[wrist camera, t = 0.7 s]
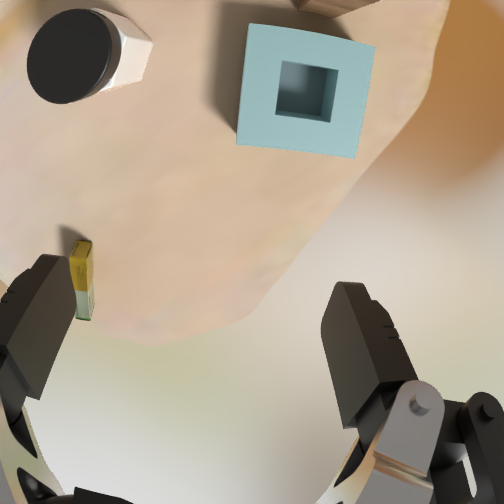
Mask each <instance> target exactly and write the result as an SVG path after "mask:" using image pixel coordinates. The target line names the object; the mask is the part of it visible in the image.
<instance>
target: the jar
mask: <svg viewBox="0 0 504 504" xmlns="http://www.w3.org/2000/svg"><path fill="white" fill-rule="evenodd" d="M152 46H153V41H152V40H151V39H150V38H149V37H148V36H147V35H145V34H144V33H143V32H142V31H141V30H140V29H139V28H138V27H137V26H136V25H135V24H134V23H133V22H132V21H131V20H129V19H128V18H125V17H122V16H120V15H117V14H114V13H111V12H108V11H105V10H101V9H98V8H92V9H90V10H89V9H88V10H87V9H71V10H66V11H64V12H61V13H59V14H57V15H55V16H54V17H52V18H51V19H49V20H48V21H47V22H46V23H45V24H44V25H43V26H42V27H41V28H40V29H39V31H38V32H37V34H36V35H35V37H34V39H33V41H32V43H31V45H30V48H29V52H28V57H27V73H28V78H29V81H30V83H31V85H32V87H33V89H34V90H35V92H36V93H37V94H38V95H39V96H40V97H41V98H43V99H44V100H46V101H48V102H51V103H55V104H70V103H73V102H76V101H79V100H82V99H85V98H89V97H92V96H95V95H98V94H102V93H105V92H108V91H111V90H114V89H117V88H120V87H123V86H126V85H129V84H132V83H135V82H138V81H141V80H142V77H143V74H144V70H145V67H146V64H147V61H148V58H149V55H150V52H151V49H152Z"/></svg>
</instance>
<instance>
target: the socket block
mask: <svg viewBox="0 0 504 504" xmlns="http://www.w3.org/2000/svg"><path fill="white" fill-rule="evenodd" d="M374 52H375V47H374V46H370V45H367V44H363V43H359V42H355V41H351V40H347V39H343V38H339V37H335V36H330V35H325V34H320V33H315V32H310V31H304V30H299V29H292V28H286V27H279V26H271V25H263V24H253V23H249V26H248V29H247V38H246V46H245V55H244V64H243V73H242V83H241V92H240V102H239V112H238V122H237V132H236V145H245V146H257V147H267V148H277V149H286V150H295V151H303V152H311V153H318V154H325V155H332V156H339V157H345V158H351V159H355V157H356V152H357V147H358V143H359V138H360V133H361V128H362V123H363V117H364V112H365V107H366V101H367V96H368V90H369V84H370V78H371V72H372V65H373V59H374Z"/></svg>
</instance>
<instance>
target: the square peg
mask: <svg viewBox="0 0 504 504" xmlns="http://www.w3.org/2000/svg"><path fill="white" fill-rule="evenodd" d="M378 1H380V0H299V9H298V11H304V12H309V13H314V14H319V15H324V16H329V17H333V18H336V17H338V16H340V15H343V14H345V13H348V12H350V11H353V10H356V9H358V8H361V7H364V6H366V5H369V4H372V3H375V2H378Z"/></svg>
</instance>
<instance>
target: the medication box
mask: <svg viewBox="0 0 504 504" xmlns="http://www.w3.org/2000/svg"><path fill="white" fill-rule="evenodd" d="M69 262H70V273H71V277H72V281H73V285H74V289H75V293H76V299H77V305H76V311H75V317H76V319H80V320H86V321H90V320H91V316H92V312H93V308H94V284H93V244H92V242H86V241H76V243H75V245H74V247H73V250H72V252H71V254H70V256H69Z"/></svg>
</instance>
